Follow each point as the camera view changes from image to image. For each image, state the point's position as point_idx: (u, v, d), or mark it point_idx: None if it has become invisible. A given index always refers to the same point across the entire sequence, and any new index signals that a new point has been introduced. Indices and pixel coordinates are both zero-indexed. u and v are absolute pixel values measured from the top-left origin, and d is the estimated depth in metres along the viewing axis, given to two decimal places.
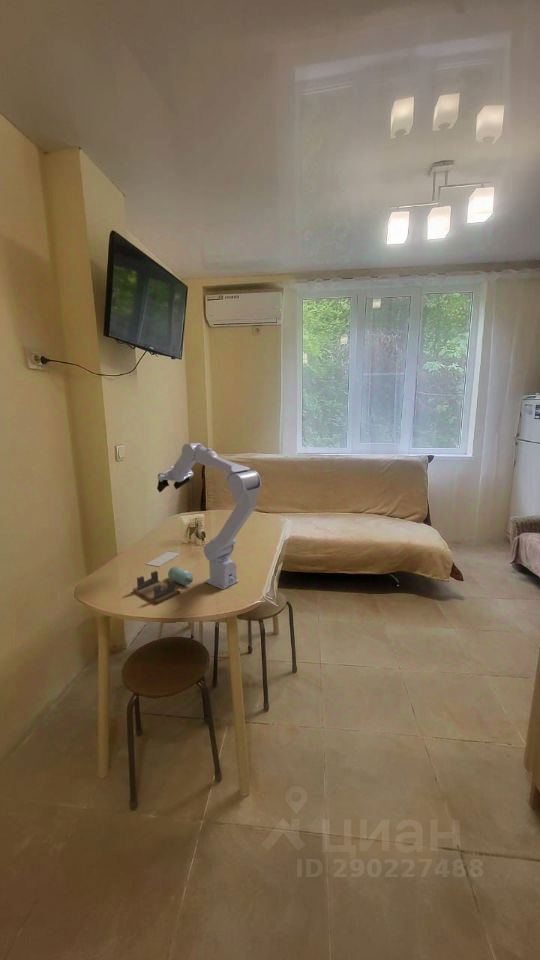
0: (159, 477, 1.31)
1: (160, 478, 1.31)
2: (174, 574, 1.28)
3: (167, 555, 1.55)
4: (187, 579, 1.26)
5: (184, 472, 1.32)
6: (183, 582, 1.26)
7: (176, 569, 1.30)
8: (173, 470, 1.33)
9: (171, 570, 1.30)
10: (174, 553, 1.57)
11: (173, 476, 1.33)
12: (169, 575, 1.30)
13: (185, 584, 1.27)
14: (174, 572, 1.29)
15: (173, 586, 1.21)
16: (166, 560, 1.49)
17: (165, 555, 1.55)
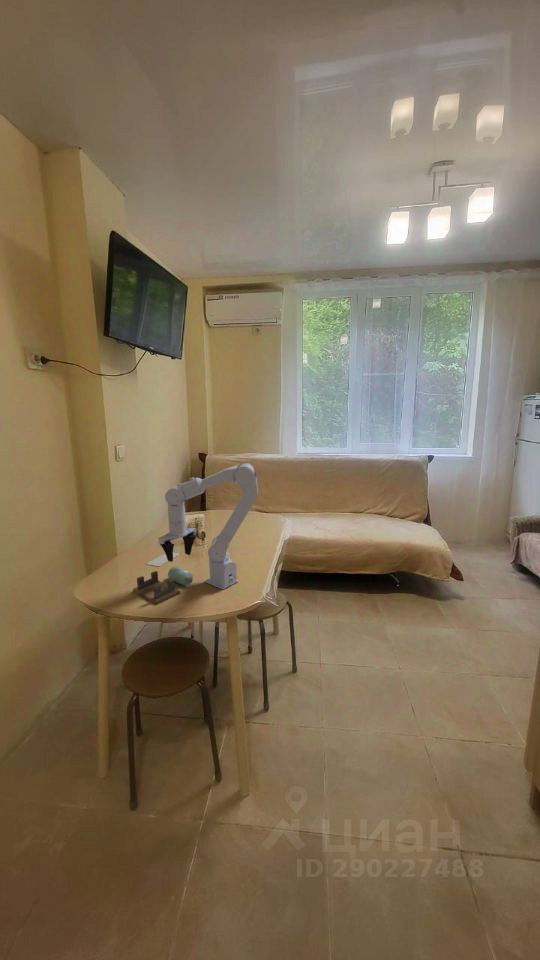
0: (159, 540, 1.22)
1: (160, 540, 1.21)
2: (174, 574, 1.28)
3: None
4: (187, 579, 1.26)
5: (184, 520, 1.25)
6: (183, 582, 1.26)
7: (176, 569, 1.30)
8: (170, 528, 1.25)
9: (171, 570, 1.30)
10: (174, 553, 1.57)
11: (173, 533, 1.24)
12: (169, 575, 1.30)
13: (185, 584, 1.27)
14: (174, 572, 1.29)
15: (173, 586, 1.21)
16: (166, 560, 1.49)
17: (165, 555, 1.55)
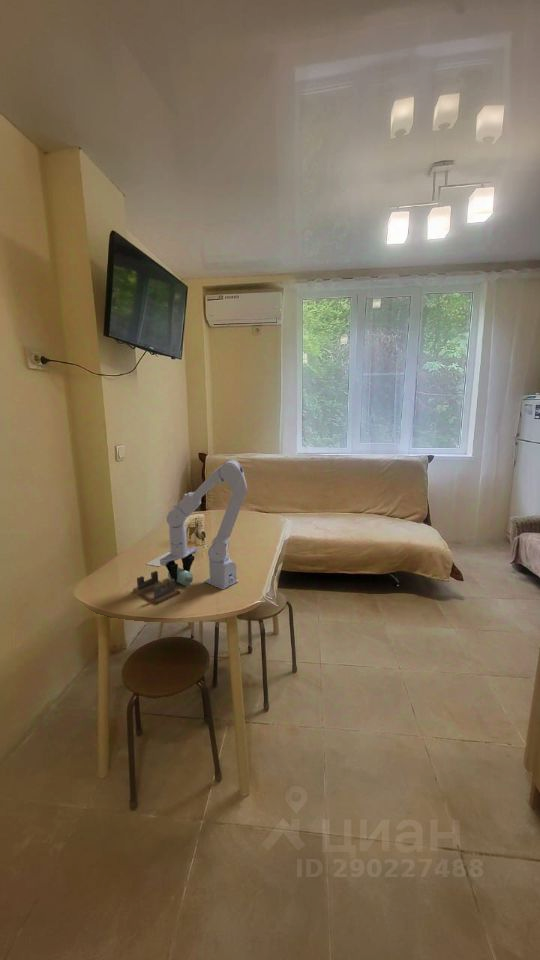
0: (161, 562, 1.23)
1: (162, 562, 1.23)
2: None
3: None
4: (187, 579, 1.26)
5: (185, 541, 1.27)
6: (183, 582, 1.26)
7: None
8: (171, 549, 1.26)
9: None
10: None
11: (174, 555, 1.26)
12: (169, 575, 1.30)
13: (185, 584, 1.27)
14: None
15: (173, 586, 1.21)
16: None
17: (165, 555, 1.55)
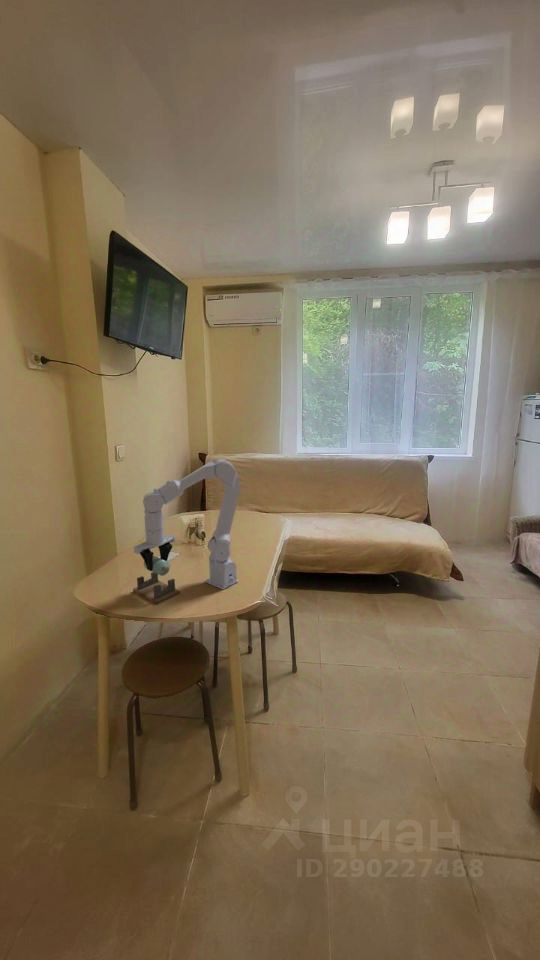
0: (135, 550, 1.15)
1: (136, 549, 1.15)
2: None
3: None
4: (163, 568, 1.18)
5: (162, 527, 1.19)
6: (159, 571, 1.18)
7: None
8: (146, 536, 1.18)
9: None
10: (174, 553, 1.57)
11: (150, 542, 1.17)
12: (145, 564, 1.22)
13: (161, 574, 1.19)
14: None
15: (173, 586, 1.21)
16: None
17: None
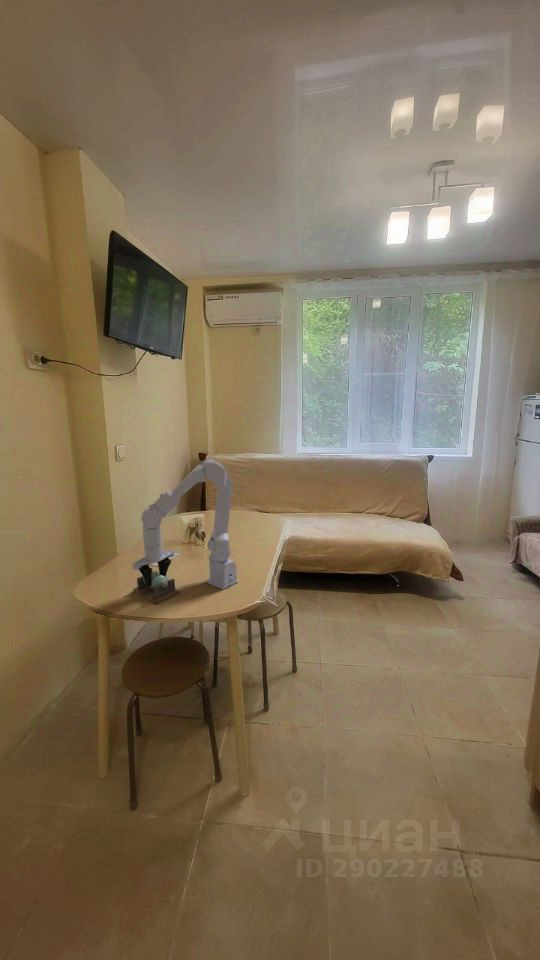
0: (133, 566, 1.15)
1: (134, 566, 1.15)
2: None
3: None
4: (162, 584, 1.18)
5: (161, 543, 1.20)
6: None
7: None
8: (145, 552, 1.18)
9: None
10: (174, 553, 1.57)
11: (148, 558, 1.18)
12: (144, 580, 1.22)
13: None
14: None
15: (173, 586, 1.21)
16: None
17: None
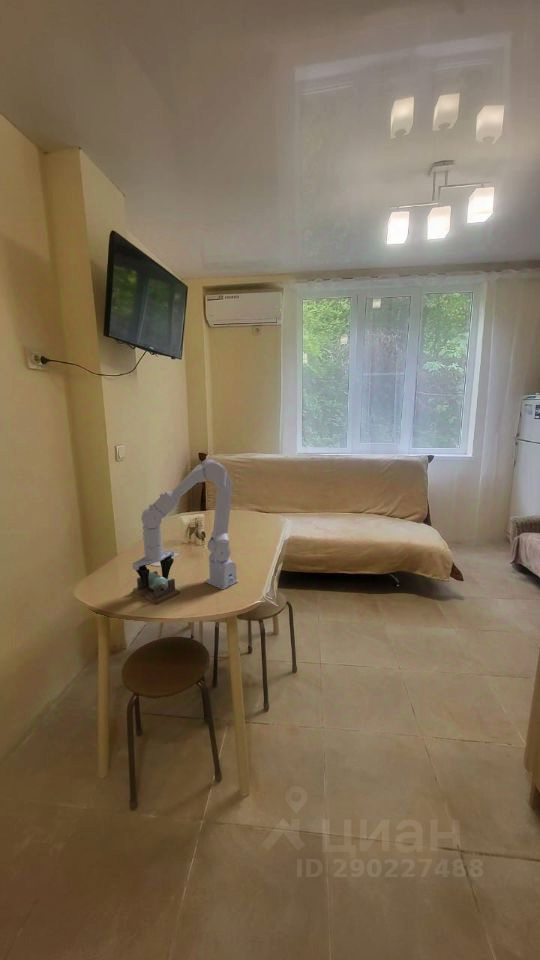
0: (133, 566, 1.15)
1: (134, 566, 1.15)
2: (149, 580, 1.21)
3: None
4: (162, 586, 1.18)
5: (161, 543, 1.20)
6: None
7: (151, 575, 1.22)
8: (145, 552, 1.18)
9: None
10: (174, 553, 1.57)
11: (148, 558, 1.18)
12: None
13: None
14: (149, 578, 1.21)
15: (173, 586, 1.21)
16: None
17: None
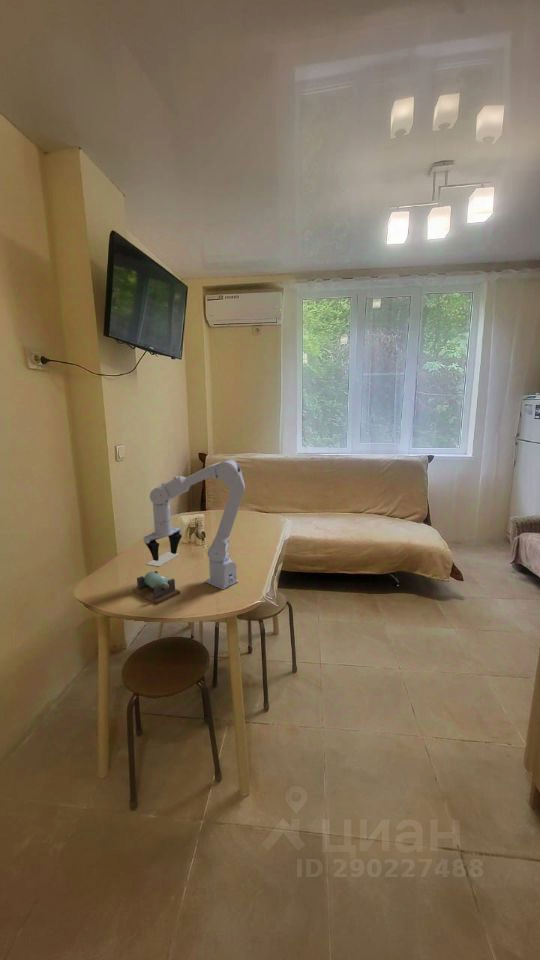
0: (144, 540, 1.22)
1: (145, 539, 1.22)
2: (151, 577, 1.21)
3: (167, 555, 1.55)
4: (164, 584, 1.19)
5: (169, 519, 1.26)
6: None
7: (155, 573, 1.23)
8: (155, 527, 1.25)
9: (149, 573, 1.23)
10: None
11: (158, 533, 1.25)
12: (145, 578, 1.22)
13: None
14: (152, 575, 1.22)
15: (173, 586, 1.21)
16: (166, 560, 1.49)
17: (165, 555, 1.55)
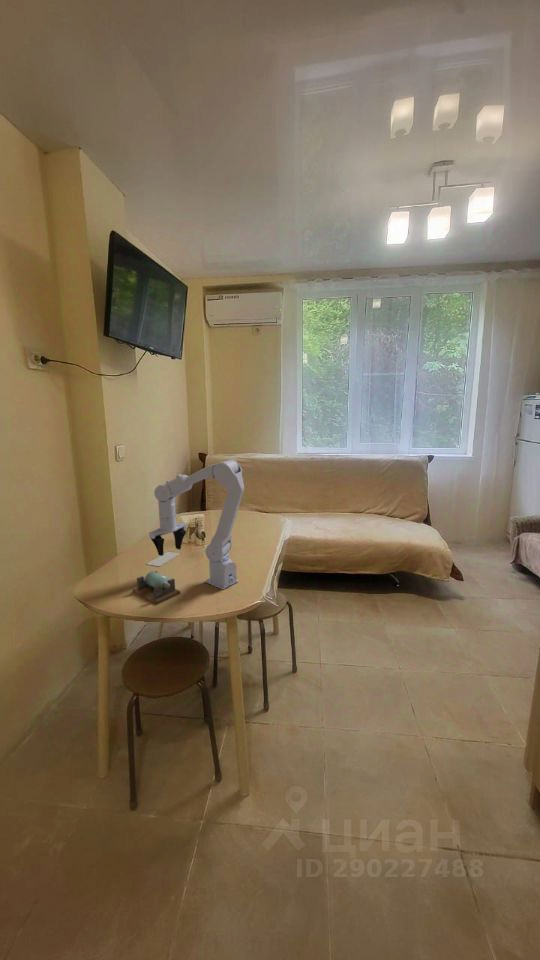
0: (150, 535, 1.27)
1: (151, 535, 1.26)
2: (155, 574, 1.22)
3: (167, 555, 1.55)
4: (166, 583, 1.19)
5: (172, 516, 1.30)
6: (160, 583, 1.19)
7: (158, 573, 1.24)
8: (160, 523, 1.30)
9: (153, 572, 1.24)
10: (174, 553, 1.57)
11: (163, 528, 1.29)
12: (148, 574, 1.23)
13: None
14: (156, 573, 1.23)
15: (173, 586, 1.21)
16: (166, 560, 1.49)
17: (165, 555, 1.55)
